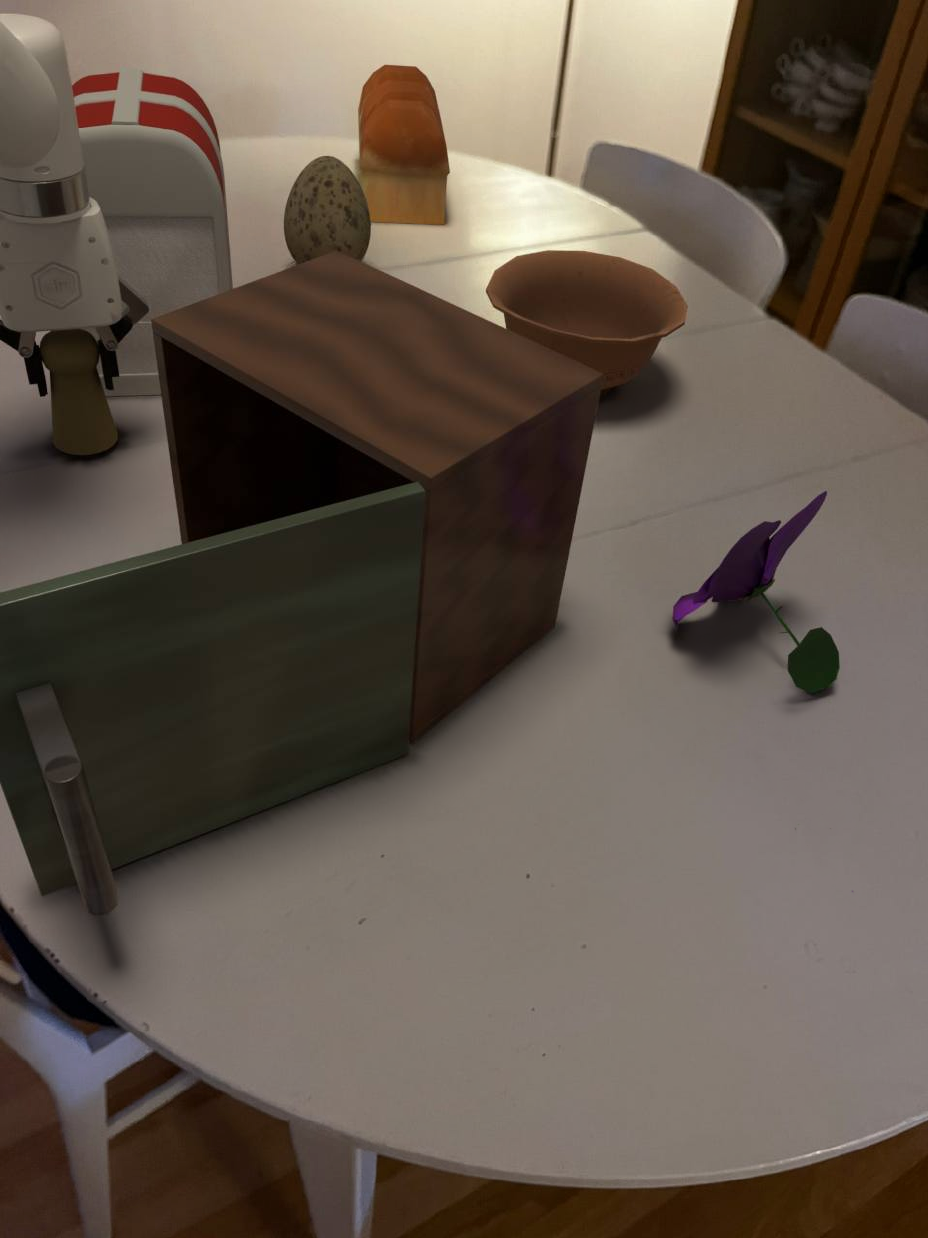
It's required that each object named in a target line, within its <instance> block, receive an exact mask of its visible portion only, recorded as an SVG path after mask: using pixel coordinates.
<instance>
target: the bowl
mask: <svg viewBox="0 0 928 1238" xmlns="http://www.w3.org/2000/svg"><path fill="white" fill-rule="evenodd" d="M485 293H486V296H487V298H488V300H489V301H490V304H491V306H492V307H493V308H494V309H496V310H497V311H499V312H501V313H502V314H503V319H504V324H505V328H506V329H508V330H510V331H512V332H514V333H516V334H518V335H521V336H523V337H525V338H527V339H529V340H531V341H534V342H536V343H538V344H540V345H542V346H544V347H547V348H549V349H551V350H553V351H555V352H557V353H560V354H562V355H564V356H566V357H568V358H570V359H572V360H575V361H577V362H579V363H581V364H583V365H585V366H588V367H590V368H592V369H594V370H596V371H598V372H601V373H603V374H604V376H603V381H602V386H601V392H600V397H599V398H601V397H603V396H605V395H606V394H608V392H610V391H611V390H612V388H614V387H618V386H622V385H624V384H626V383H628V382H629V381H630V380H632V379H633V378H635V377H636V376H637V375H638V374H639V373H642V371H643V370H645V368H646V367H647V366H648V365H649V363H650V362H651V359H652V357H653V356H654V354H655V352H656V350H657V348H658V346H659V343H661V341H662V339H663V338H666V337H668V336H670V335H671V334H672V333H674V332H675V331H677V330H679V329H680V328H682V327H683V326H685V325H686V322H687V321H686V320H687V315H688V308H689V305H688V304H687V302H686V300H685V299H684V297H683V295H682V293H681V292H680V290H679V288H678V287H677V286H676V285H675V284H674V283H672V282H671V281H669V280H668V279H667V278H665V277H664V276H663V275H662V274H661V273H659V272H657V271H656V270H655V269H653V268H651V267H648V266H645V265H642V264H640V263H637V262H634V261H632V260H630V259H626V258H624V257H621V256H615V255H609V254H604V253H599V252H592V251H587V250H559V249H558V250H557V249H556V250H555V249H553V250H552V249H547V250H542V251H536V252H530V253H526V254H525V253H524V254H520V255H516V256H514V257H513V258H512V259H510V260H508V261H507V262H505V263H504V264H502V265H500V266H499V267H497V268H496V269H495V270H494V271H493V273H492V275H491V277H490V280H489V282H488V284H487V286H486V288H485Z"/></svg>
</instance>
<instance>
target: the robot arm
mask: <svg viewBox="0 0 928 1238" xmlns="http://www.w3.org/2000/svg"><path fill="white" fill-rule="evenodd" d="M72 85H73V84H72V78H71V70H70V65H69V59H68V52H67V46H66V43H65V39H64V37H63V35H62V33H61V32H60V30H59V29H58V28H57V26H55V25H54V24H53V23H51V22H50V21H48V20H46V19H44V18H41V17H37V16H34V15H28V14H23V13H22V14H21V13H0V341H1V342H3V343H4V344H6V345H8V347H10V348H12V349H13V350H15V351H16V352H18V355H19V356H20V357H21V358H23V361H24V367H25V371H26V375H27V379H28V385H30V386H32V385H37V389H38V395H39V397H40V398H42V397H47V396H48V395H49V392H48V385H47V379H46V378H47V377H46V373H45V369H44V363H43V362H42V360H41V357H40V352H39V348H40V344H37V342H36V336H37V332H50V331H54V330H68V329H81V328H93V327H95V329H96V331H97V333H98V335H99V339H100V340H98V345H99V351H100V359H101V365H102V371H103V377H104V382H105V387H106V389H108V390H114V386H113V380H112V377H120V376H119V369H118V363H117V356H116V349H117V348H118V344H119V343H120V342H121V340H122V339H123V338H124V337H125V336H126V335H127V334H128V333H129V332H130V330H131V329H132V327H133V325H134V324H136V323H138V322H139V321H140V320H141V319H142V318H143V317H144V316H145V315H146V314H147V313H148V312H149V307H148V303H147V301H146V300H145V299H144V298H143V297H142V296H141V295H140V294H138V293H137V292H136V291H135V290H134V289H133V288H132V287H131V286H130V285H128V284H127V283H126V282H125V281H124V280H123V279H122V278H121V277H119V276H118V275H117V271H116V266H115V261H114V256H113V251H112V246H111V242H110V238H109V234H108V230H107V227H106V224H105V220H104V217H103V215H102V212H101V209H100V207H99V205H98V203H97V202H96V201H95V200H94V199H92V198H91V197H89V193H88V187H87V180H86V174H85V167H84V161H83V155H82V148H81V142H80V135H79V129H78V122H77V116H76V109H75V103H74V96H73V90H72ZM121 300H122V301H123V302H124V303H126V304H127V305H128V306H127V307H126V308H125V310H124V311H123V312H122V302H121Z"/></svg>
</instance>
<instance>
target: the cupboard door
mask: <svg viewBox="0 0 928 1238" xmlns="http://www.w3.org/2000/svg"><path fill="white" fill-rule="evenodd" d="M424 504H425V489H424V488H423V487H422V486H421V485H420V484H419V482H414V483H410V484H407V485H403V486H399V487H395V488H392V489H388V490H384V491H380V492H377V493H373V494H369V495H365V496H362V497H358V498H354V499H350V500H346V501H343V502H339V503H335V504H331V505H328V506H324V507H320V508H316V509H313V510H309V511H305V512H301V513H298V514H294V515H290V516H286V517H283V518H279V519H275V520H271V521H268V522H264V523H260V524H256V525H253V526H249V527H245V528H241V529H238V530H234V531H230V532H226V533H223V534H219V535H215V536H211V537H208V538H204V539H200V540H196V541H193V542H189V543H185V544H182V543H181V544H178V545H174V546H170V547H166V548H162V549H160V550H156V551H151V552H147V553H143V554H140V555H137V556H133V557H129V558H125V559H121V560H118V561H114V562H110V563H106V564H103V565H99V566H95V567H91V568H87V569H84V570H80V571H77V572H72V573H69V574H66V575H61V576H58V577H53V578H50V579H47V580H43V581H39V582H35V583H31V584H27V585H23V586H20V587H16V588H13V589H9V590H5V591H1V592H0V788H1V790H2V793H3V795H4V798H5V801H6V804H7V806H8V809H9V812H10V814H11V818H12V820H13V824H14V825H15V829H16V831H17V833H18V837H19V839H20V843H21V844H22V848H23V850H24V853H25V855H26V859H27V862H28V864H29V867H30V868H31V872H32V874H33V877H34V881H35V883H36V886H37V888H38V892H39V893H40V896H41V897H44V896H47V895H49V894H52V893H55V892H57V891H60V890H62V889H65V888H69V887H71V886H73V885H75V884H77V886H78V890H79V892H80V895H81V899H82V901H83V904H84V907H85V909H86V911H87V912H88V914H89V915H92V916H95V917H103V916H107V915H109V914H111V913H112V912H113V911H114V910H116V908H117V906H118V904H119V901H120V896H119V893H118V890H117V886H116V883H115V879H114V875H113V871H112V870H113V869H116V868H119V867H122V866H124V865H126V864H130V863H131V862H134V861H137V860H139V859H143V858H145V857H147V856H150V855H153V854H154V853H157V852H160V851H162V850H165V849H168V848H170V847H173V846H176V845H178V844H180V843H183V842H185V841H188V840H190V839H191V840H192V839H193V838H196V837H198V836H201V835H203V834H206V833H209V832H211V831H214V830H216V829H219V828H221V827H225V826H227V825H230V824H231V823H234V822H236V821H239V820H241V819H244V818H247V817H250V816H252V815H254V814H257V813H260V812H262V811H265V810H268V809H270V808H273V807H276V806H277V805H280V804H283V803H285V802H288V801H291V800H293V799H295V798H299V797H301V796H303V795H305V794H308V793H311V792H313V791H317V790H319V789H321V788H324V787H326V786H329V785H331V784H334V783H337V782H339V781H342V780H344V779H346V778H349V777H352V776H354V775H355V776H356V775H357V774H359V773H362V772H364V771H367V770H370V769H373V768H375V767H378V766H380V765H382V764H386V763H388V762H390V761H394V760H396V759H399V758H400V757H403V756H406V755H408V753H409V744H410V743H409V729H410V714H411V699H412V684H413V669H414V654H415V639H416V624H417V609H418V594H419V579H420V564H421V549H422V534H423V519H424Z"/></svg>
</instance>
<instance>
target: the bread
mask: <svg viewBox="0 0 928 1238" xmlns="http://www.w3.org/2000/svg"><path fill="white" fill-rule="evenodd" d="M441 117H442V116H441V112H440V108H439V105H438V99H437V95H436V90H435V87H433V85H432V83H431V81H430V80H429V78H428V76H427V75H426V74H425V73H424V72H423V71H422V70H421V69H419V68H418V67H417V66H413V65H398V64H397V65H396V64H383V65H382V66H380V67H379V68H378V69H376V70H375V71H373V72H372V73H371V75H370V76H369V77H368V78H367V80H366V82H364V84H363V86H362V88H361V94H360V99H359V104H358V108H357V120H358V121H357V122H358V123H357V124H358V152H359V153H358V154H359V156H358V157H359V184H360V186H361V188H362V190H363V192H364V195H365V198H366V201H367V204H368V208H369V213H370V221H371V222H372V223H391V224H392V223H393V224H413V225H414V224H418V225H435V226H436V225H439V226H445V217H446V216H445V215H446V201H447V200H446V199H447V188H448V187H447V185H448V176H449V174H450V173H451V169H450V161H449V154H448V153H449V152H448V147H447V141H446V137H445V132H444V126H443V122H442V118H441Z"/></svg>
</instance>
